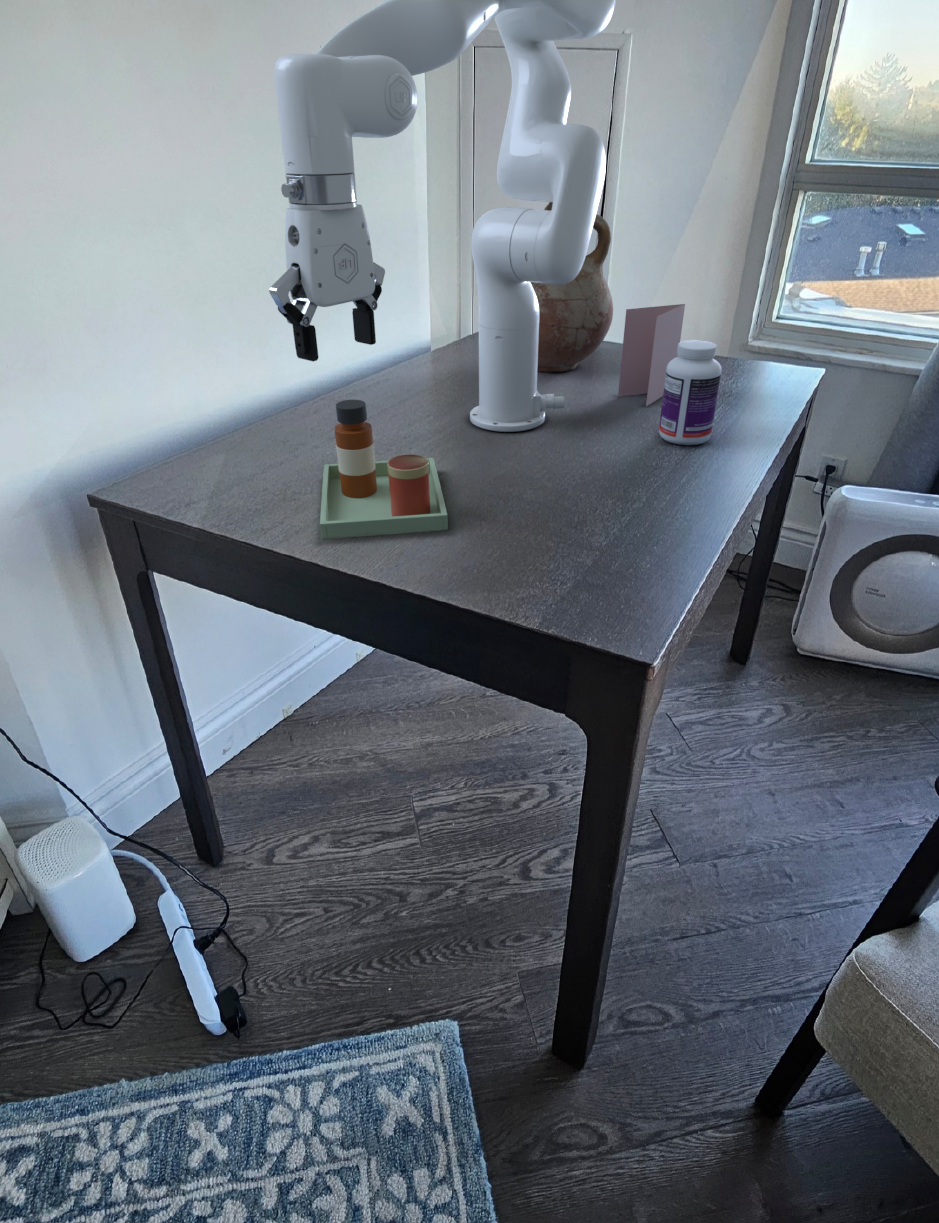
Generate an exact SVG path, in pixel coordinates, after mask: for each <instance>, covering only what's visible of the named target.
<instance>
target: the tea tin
mask: <svg viewBox="0 0 939 1223" xmlns="http://www.w3.org/2000/svg"><path fill="white" fill-rule="evenodd" d="M427 458H428V457H425V456H423V455H419V454H409V453H408V454H401V455H396V456H393V457H391V458H389V459H388V460H387V461H388V462H387V467H388V475H389V488H390V501H391V514H392V517H393V516H407V515H422V514H430V491H429V461H428V459H427Z"/></svg>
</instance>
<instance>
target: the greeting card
mask: <svg viewBox="0 0 939 1223" xmlns="http://www.w3.org/2000/svg"><path fill="white" fill-rule="evenodd" d="M685 309H686V303H679V304H669V305H657V306H647V307H636V308H626V309H625V318H624V330H623V339H622V350H621V360H620V369H619V370H620V371H619V381H618V382H619V383H618V391H617V397H618V398H619V397H626V396H633V395H635V396H636V395H642V394H647V395H646V401H645V402H646V403H645V407H648V406H649V405H651V404H653V403H654V402H656V401H657V400H659V399H661V398H663V393H664V385H665V377H666V369H667V365H668V363H669V362H670V361H671V360H672V359H674V358H676V357H678V355H677V348H678V343H680V342H681V338H682V330H683V322H684V317H685Z"/></svg>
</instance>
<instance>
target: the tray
mask: <svg viewBox="0 0 939 1223" xmlns="http://www.w3.org/2000/svg"><path fill="white" fill-rule="evenodd" d="M426 458H427V459H428V461H429V491H430V514H422V515H407V516H393V517H392V514H391V501H390V488H389V475H388V467H387V462H388V461H389V460H375V466H376V468H375V471H376V482H377V491H376V493H375V494H373V495H371V496H368V497H364V498H350V497H347V496H345V495H343V494H342V490H341V481H340V473H339V467H338V463H327V464H323V471H322V474H323V475H322V487H321V488H322V489H321V502H320V515H319V516H320V517H319V530H320V536H321V540H327V539H329V540H330V539H342V538H354V537H355V538H356V537H369V536H370V537H371V536H383V535H385V536H386V535H398V534H410V533H426V532H439V531H448V530H449V524H448V520H449V519H448V518H449V517H448V512H447V507H446V504H445V499H444V495H443V491H442V487H441V483H440V478H439V474H438V471H437V470H438V469H437V467H436V466H437V465H436V462H435V458H434V457H426Z"/></svg>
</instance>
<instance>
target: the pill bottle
mask: <svg viewBox="0 0 939 1223" xmlns="http://www.w3.org/2000/svg"><path fill="white" fill-rule="evenodd" d="M717 347H718V346H717V344H716V343H714V342H711V341H707V340H700V339H699V340H698V339H689V340H688V339H687V340H682V341H680V343H678V348H677V355H678V357H676V358H674V359H672V360H671V361H670V362H669V363H668V365H667V369H666V377H665V385H664V393H663V396H662V402H661V410H660V417H659V426H658V433H659V436H660V437H661V438H662V439H663V440H664V441H666V442H667V443H671V444H674V445H681V446H696V445H701V444H704V443H706V442H707V441H708V440H710V438H711V436H712V432H713V426H714V420H715V414H716V407H717V402H718V395H719V390H720V383H721V377H722V365H721V364H720V362H719V361H718V360H717V359H714V358H715V356H716V354H717V353H716V352H717Z"/></svg>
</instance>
